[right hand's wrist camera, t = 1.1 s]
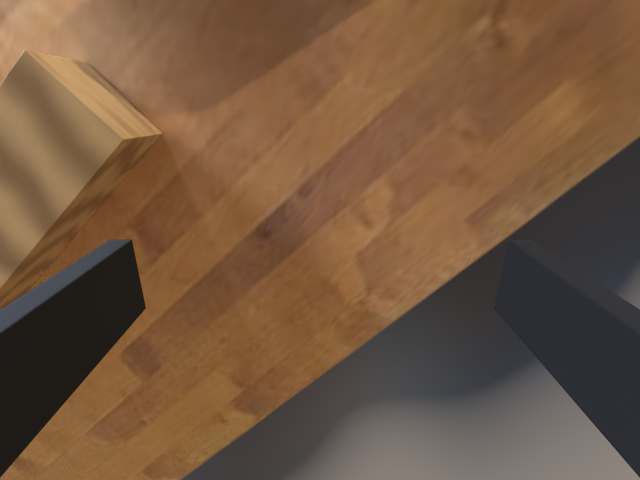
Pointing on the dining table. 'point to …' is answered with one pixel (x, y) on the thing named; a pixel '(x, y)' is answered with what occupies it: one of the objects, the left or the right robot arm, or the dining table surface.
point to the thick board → (58, 159)
